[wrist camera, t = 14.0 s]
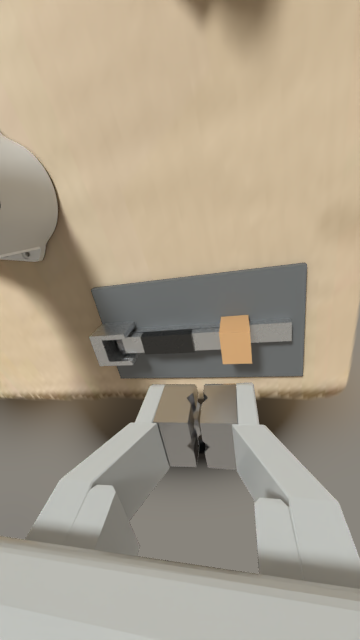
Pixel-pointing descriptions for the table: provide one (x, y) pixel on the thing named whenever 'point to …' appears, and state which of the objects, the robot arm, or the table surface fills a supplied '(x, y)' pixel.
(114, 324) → the grey long bar
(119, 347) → the tongs arm
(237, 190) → the table surface
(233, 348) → the light orange block
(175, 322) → the mat
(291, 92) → the table surface
